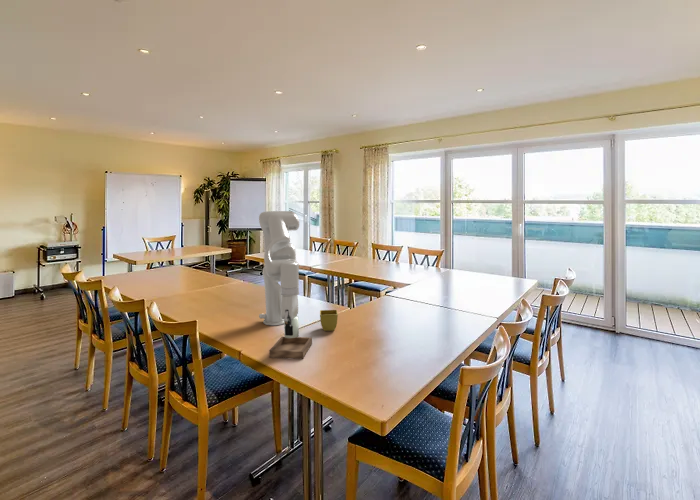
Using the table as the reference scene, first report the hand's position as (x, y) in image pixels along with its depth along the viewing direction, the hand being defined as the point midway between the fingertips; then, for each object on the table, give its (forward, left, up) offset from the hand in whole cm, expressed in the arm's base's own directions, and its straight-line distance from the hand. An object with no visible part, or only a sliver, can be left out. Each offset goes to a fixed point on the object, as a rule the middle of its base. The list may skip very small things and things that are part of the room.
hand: (291, 332), depth 150 cm
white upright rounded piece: (0, 0, -2) cm, 2 cm away
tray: (0, 0, -8) cm, 8 cm away
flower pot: (+11, +28, -9) cm, 31 cm away
